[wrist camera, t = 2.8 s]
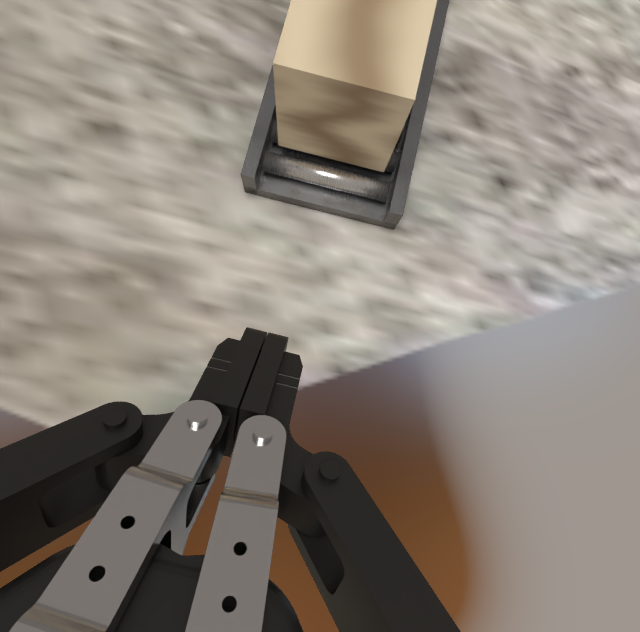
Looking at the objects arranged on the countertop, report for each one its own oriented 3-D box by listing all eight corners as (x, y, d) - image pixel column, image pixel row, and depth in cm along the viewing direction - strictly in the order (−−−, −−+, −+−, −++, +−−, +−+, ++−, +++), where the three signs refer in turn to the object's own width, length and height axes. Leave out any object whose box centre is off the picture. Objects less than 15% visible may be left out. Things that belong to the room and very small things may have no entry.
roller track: (245, 191, 32) (232, 141, 26) (316, -57, 36) (321, -160, 30) (393, 229, 33) (420, 188, 26) (448, -22, 37) (484, -115, 30)
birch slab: (278, 145, 30) (272, 63, 23) (310, 30, 32) (315, -84, 24) (383, 172, 31) (415, 100, 23) (410, 56, 32) (447, -49, 24)
